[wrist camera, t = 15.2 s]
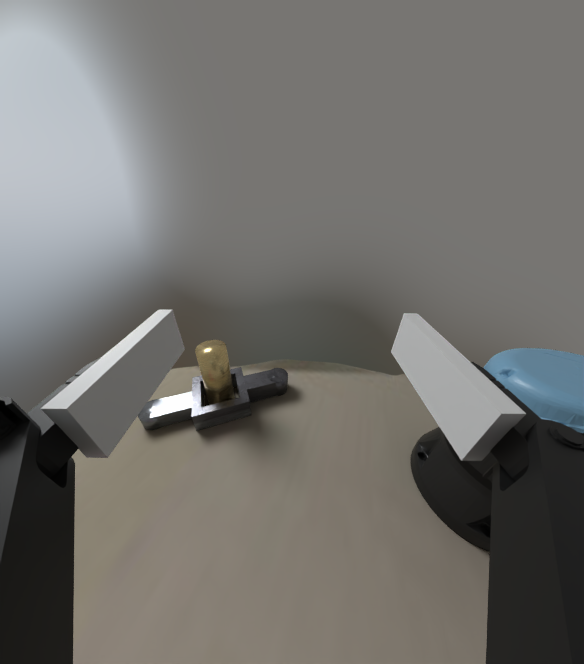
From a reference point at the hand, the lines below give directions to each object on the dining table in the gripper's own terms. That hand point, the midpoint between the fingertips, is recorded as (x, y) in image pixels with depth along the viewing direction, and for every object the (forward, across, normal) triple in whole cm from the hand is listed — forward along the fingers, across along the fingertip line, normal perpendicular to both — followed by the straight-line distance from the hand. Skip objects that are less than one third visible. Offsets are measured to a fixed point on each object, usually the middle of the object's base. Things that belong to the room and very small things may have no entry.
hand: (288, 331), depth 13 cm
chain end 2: (+20, -9, -29) cm, 37 cm away
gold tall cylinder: (+19, -14, -29) cm, 37 cm away
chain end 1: (+17, -18, -29) cm, 38 cm away
